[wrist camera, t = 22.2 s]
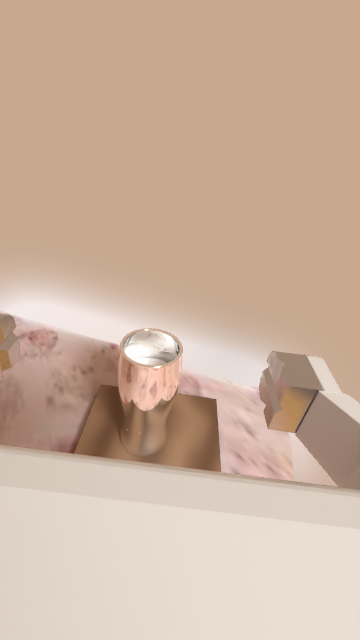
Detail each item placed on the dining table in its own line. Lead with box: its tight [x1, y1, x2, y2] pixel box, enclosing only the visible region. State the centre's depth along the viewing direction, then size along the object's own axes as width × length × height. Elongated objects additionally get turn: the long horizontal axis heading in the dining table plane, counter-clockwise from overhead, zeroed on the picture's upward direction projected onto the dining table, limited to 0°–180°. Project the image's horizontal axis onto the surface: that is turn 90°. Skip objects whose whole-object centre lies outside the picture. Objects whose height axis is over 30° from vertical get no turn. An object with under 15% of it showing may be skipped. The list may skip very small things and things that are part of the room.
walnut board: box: [74, 385, 221, 472], centre depth 39 cm, size 18×16×2 cm
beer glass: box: [118, 328, 183, 457], centre depth 35 cm, size 7×7×15 cm
